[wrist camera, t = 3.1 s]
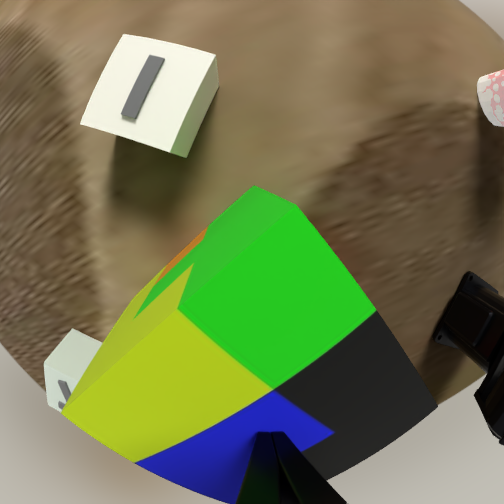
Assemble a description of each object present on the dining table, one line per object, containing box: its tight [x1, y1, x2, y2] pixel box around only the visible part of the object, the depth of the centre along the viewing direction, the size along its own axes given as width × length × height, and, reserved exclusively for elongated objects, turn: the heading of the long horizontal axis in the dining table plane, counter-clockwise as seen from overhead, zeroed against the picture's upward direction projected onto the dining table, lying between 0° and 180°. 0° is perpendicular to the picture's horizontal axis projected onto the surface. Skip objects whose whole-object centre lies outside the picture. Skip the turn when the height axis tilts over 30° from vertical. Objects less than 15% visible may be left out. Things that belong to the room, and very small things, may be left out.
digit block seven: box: [44, 328, 102, 412], centre depth 15 cm, size 4×4×5 cm
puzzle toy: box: [61, 185, 438, 504], centre depth 12 cm, size 10×10×10 cm
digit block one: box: [80, 34, 219, 158], centre depth 11 cm, size 4×4×5 cm
